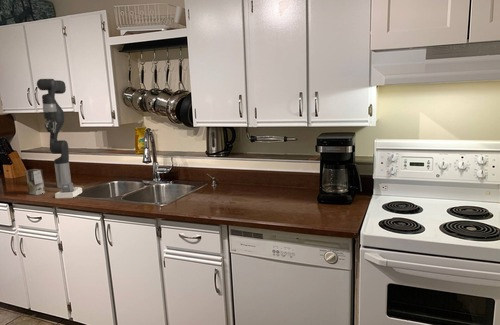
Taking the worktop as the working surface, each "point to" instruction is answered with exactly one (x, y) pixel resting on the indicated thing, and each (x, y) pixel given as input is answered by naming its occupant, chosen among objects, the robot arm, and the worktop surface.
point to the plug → (67, 187)
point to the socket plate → (69, 195)
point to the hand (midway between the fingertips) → (53, 138)
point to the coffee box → (35, 181)
